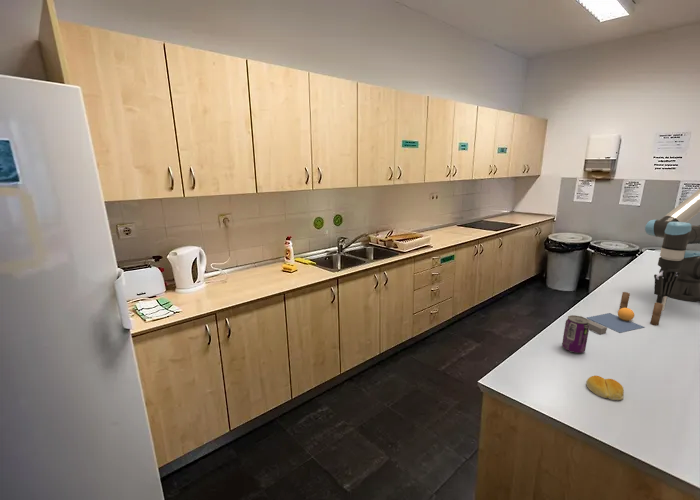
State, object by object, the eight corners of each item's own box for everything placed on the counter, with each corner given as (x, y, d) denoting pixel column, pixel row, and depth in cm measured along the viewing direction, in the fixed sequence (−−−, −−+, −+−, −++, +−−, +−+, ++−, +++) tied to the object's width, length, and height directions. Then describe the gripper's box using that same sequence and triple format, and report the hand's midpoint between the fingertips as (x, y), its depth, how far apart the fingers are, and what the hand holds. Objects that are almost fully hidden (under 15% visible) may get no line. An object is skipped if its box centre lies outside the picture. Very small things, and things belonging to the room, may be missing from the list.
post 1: (621, 310, 153) (625, 291, 151) (627, 312, 151) (631, 293, 148) (617, 311, 152) (621, 292, 150) (623, 313, 150) (627, 294, 148)
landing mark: (609, 313, 150) (609, 312, 150) (644, 327, 137) (644, 326, 137) (586, 318, 146) (586, 317, 146) (619, 332, 133) (619, 332, 133)
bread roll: (585, 379, 106) (587, 368, 105) (621, 389, 101) (623, 377, 100) (586, 394, 99) (588, 382, 98) (624, 405, 94) (627, 393, 93)
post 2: (652, 322, 141) (657, 302, 139) (660, 324, 139) (664, 304, 137) (648, 323, 141) (653, 303, 138) (655, 325, 138) (660, 305, 136)
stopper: (579, 321, 143) (580, 316, 142) (605, 333, 133) (606, 327, 132) (574, 322, 142) (575, 317, 141) (600, 334, 132) (601, 328, 131)
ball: (622, 303, 145) (613, 311, 144) (635, 308, 139) (626, 316, 139) (625, 311, 147) (616, 319, 146) (639, 317, 141) (629, 325, 141)
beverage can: (588, 355, 118) (594, 324, 115) (566, 353, 119) (571, 322, 116) (579, 345, 125) (584, 315, 122) (558, 343, 126) (563, 314, 123)
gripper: (671, 254, 148) (659, 304, 154) (650, 257, 144) (639, 308, 150) (692, 259, 141) (679, 310, 147) (671, 262, 138) (658, 315, 143)
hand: (659, 309), depth 149 cm, fingers closed
